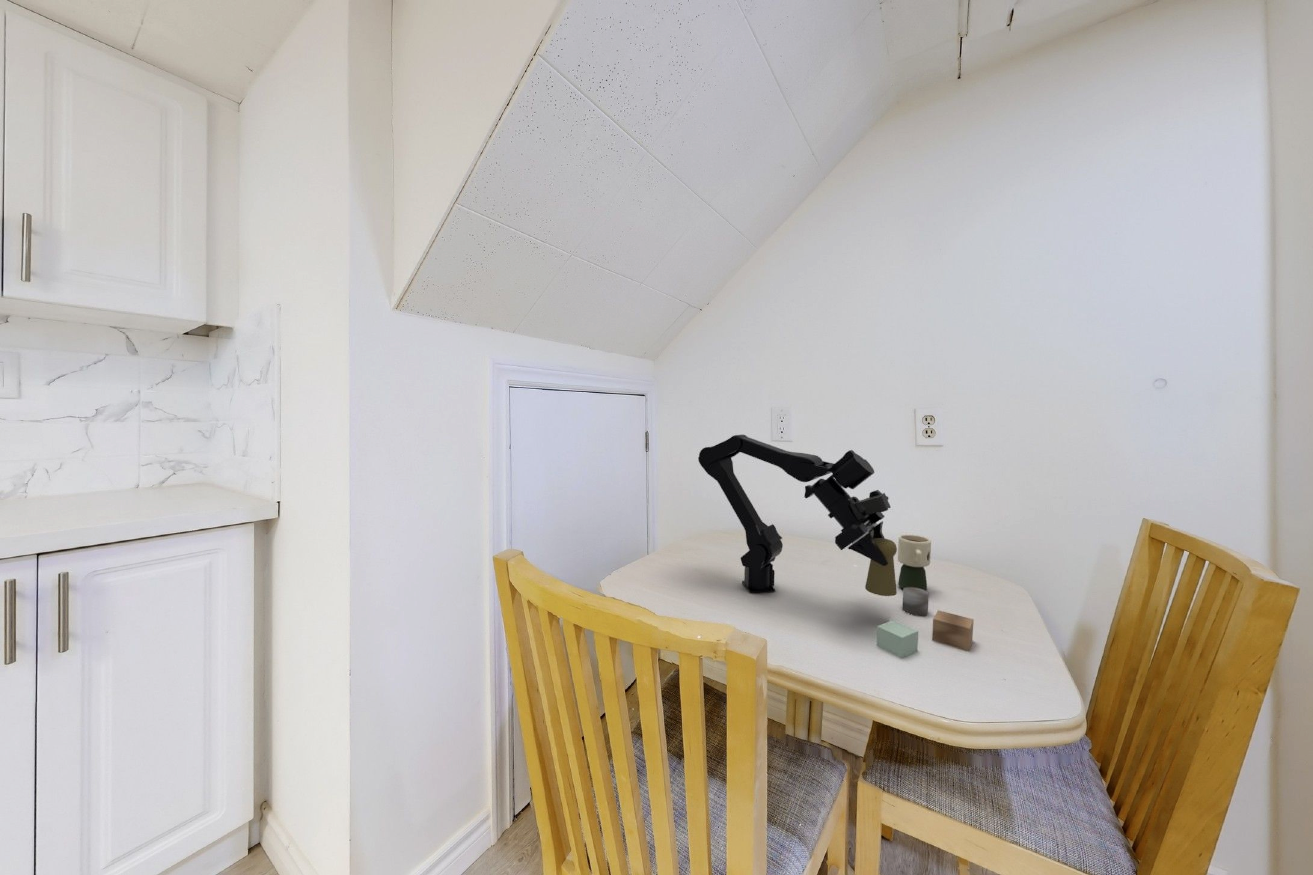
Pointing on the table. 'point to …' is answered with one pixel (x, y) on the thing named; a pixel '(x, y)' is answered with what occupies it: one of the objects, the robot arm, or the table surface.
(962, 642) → the walnut block
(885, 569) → the olive pawn
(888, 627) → the sage block
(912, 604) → the grey short cylinder
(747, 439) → the robot arm
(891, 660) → the table surface
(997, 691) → the table surface
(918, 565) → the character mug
